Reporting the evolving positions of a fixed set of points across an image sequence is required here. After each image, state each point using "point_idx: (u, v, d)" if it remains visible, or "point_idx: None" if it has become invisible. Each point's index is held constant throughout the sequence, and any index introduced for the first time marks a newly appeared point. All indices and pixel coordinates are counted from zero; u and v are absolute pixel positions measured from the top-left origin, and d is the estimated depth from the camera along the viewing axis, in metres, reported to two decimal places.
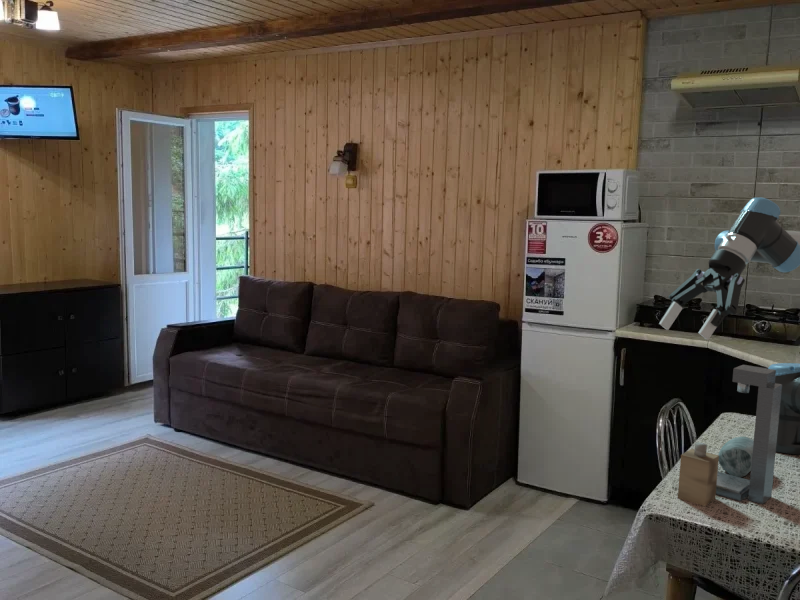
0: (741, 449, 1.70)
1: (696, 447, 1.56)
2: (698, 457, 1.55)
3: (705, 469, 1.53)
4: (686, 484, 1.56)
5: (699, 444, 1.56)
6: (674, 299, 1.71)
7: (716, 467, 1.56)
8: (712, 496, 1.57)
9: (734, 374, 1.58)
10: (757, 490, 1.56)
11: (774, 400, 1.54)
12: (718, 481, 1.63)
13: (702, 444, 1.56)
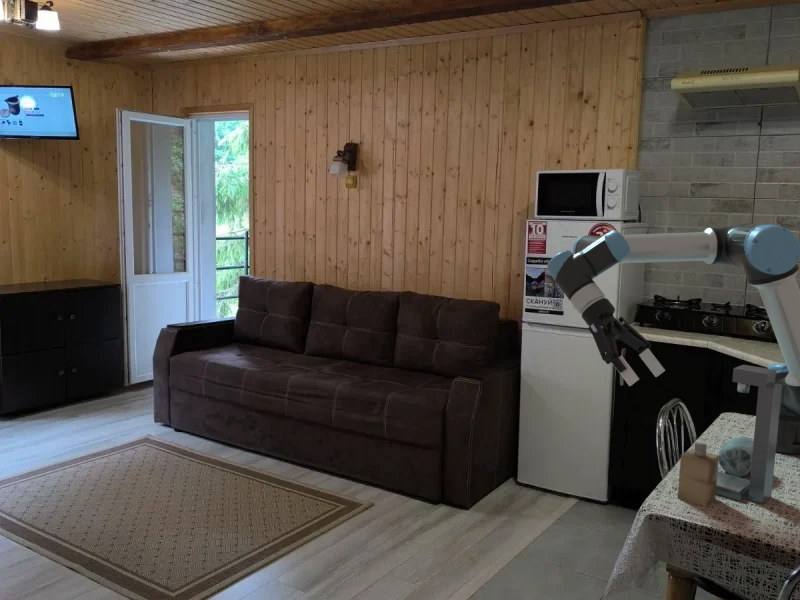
0: (741, 449, 1.70)
1: (696, 447, 1.56)
2: (698, 457, 1.55)
3: (705, 469, 1.53)
4: (686, 484, 1.56)
5: (699, 444, 1.56)
6: (639, 352, 1.73)
7: (716, 467, 1.56)
8: (712, 496, 1.57)
9: (734, 374, 1.58)
10: (757, 490, 1.56)
11: (774, 400, 1.54)
12: (718, 481, 1.63)
13: (702, 444, 1.56)
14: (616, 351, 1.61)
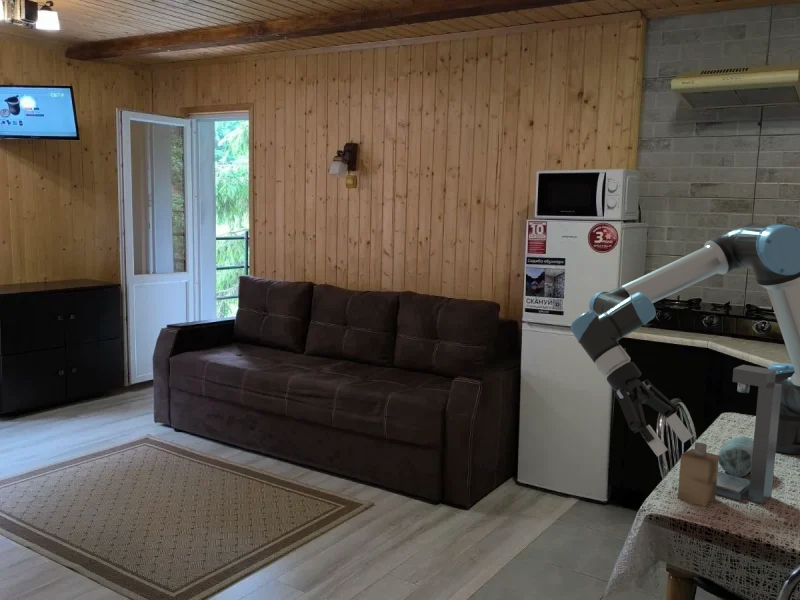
0: (741, 449, 1.70)
1: (696, 447, 1.56)
2: (698, 457, 1.55)
3: (705, 469, 1.53)
4: (686, 484, 1.56)
5: (699, 444, 1.56)
6: None
7: (716, 467, 1.56)
8: (712, 496, 1.57)
9: (734, 374, 1.58)
10: (757, 490, 1.56)
11: (774, 400, 1.54)
12: (718, 481, 1.63)
13: (702, 444, 1.56)
14: (643, 420, 1.57)
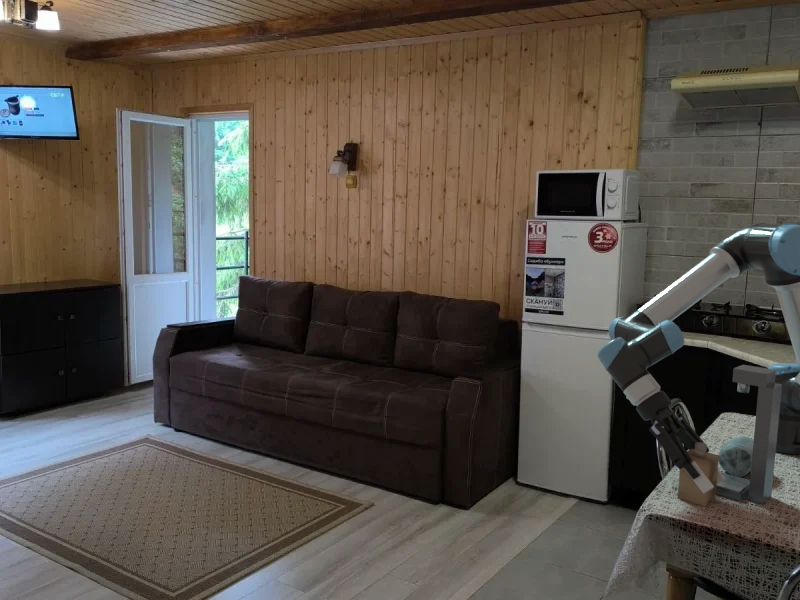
0: (741, 449, 1.70)
1: (696, 447, 1.56)
2: (698, 457, 1.55)
3: (705, 469, 1.53)
4: (686, 484, 1.56)
5: (699, 444, 1.56)
6: None
7: (716, 467, 1.56)
8: (712, 496, 1.57)
9: (734, 374, 1.58)
10: (757, 490, 1.56)
11: (774, 400, 1.54)
12: None
13: (702, 444, 1.56)
14: (687, 455, 1.55)
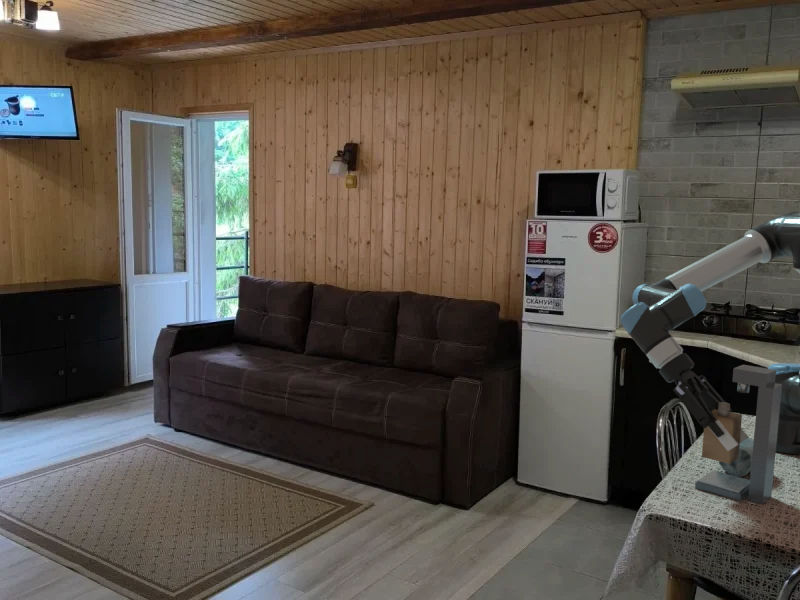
0: (741, 449, 1.70)
1: (720, 406, 1.59)
2: (721, 416, 1.58)
3: (729, 427, 1.56)
4: (710, 443, 1.60)
5: (722, 403, 1.59)
6: None
7: (739, 425, 1.60)
8: (735, 454, 1.60)
9: (734, 374, 1.58)
10: (757, 490, 1.56)
11: (774, 400, 1.54)
12: (718, 481, 1.63)
13: (725, 403, 1.60)
14: (711, 414, 1.58)
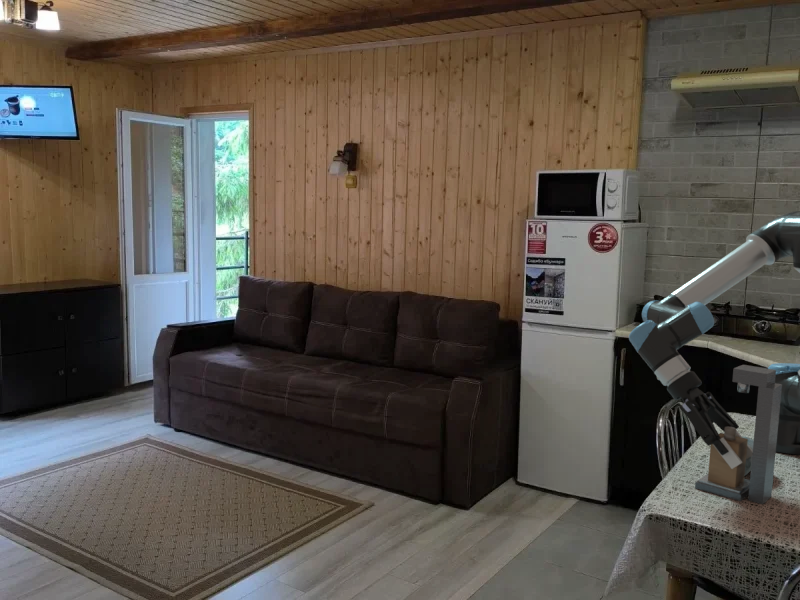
0: None
1: (726, 431, 1.62)
2: (728, 440, 1.61)
3: (735, 451, 1.59)
4: (716, 467, 1.62)
5: (729, 428, 1.62)
6: None
7: (745, 450, 1.62)
8: (741, 478, 1.62)
9: (734, 374, 1.58)
10: (757, 490, 1.56)
11: (774, 400, 1.54)
12: None
13: (731, 428, 1.62)
14: (716, 432, 1.60)
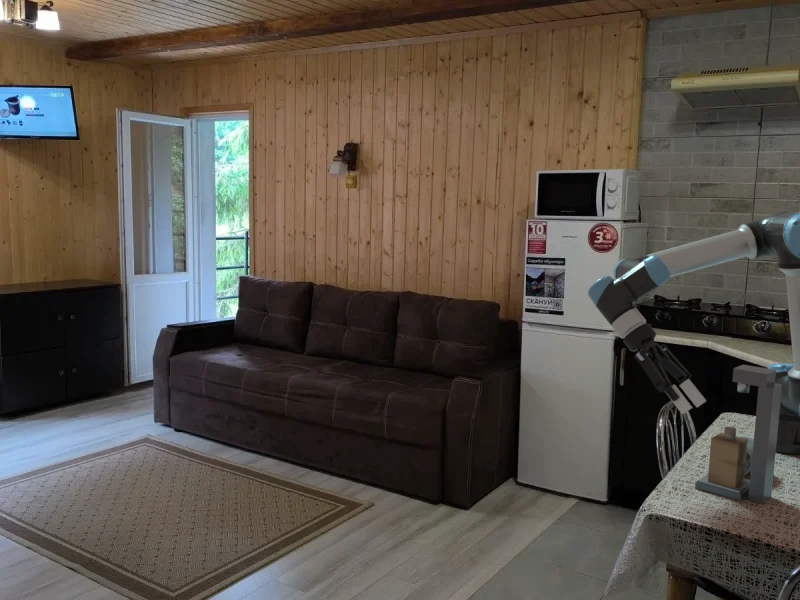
0: None
1: (726, 431, 1.62)
2: (728, 440, 1.61)
3: (735, 451, 1.59)
4: (716, 467, 1.62)
5: (729, 428, 1.62)
6: (679, 382, 1.75)
7: (745, 450, 1.62)
8: (741, 478, 1.62)
9: (734, 374, 1.58)
10: (757, 490, 1.56)
11: (774, 400, 1.54)
12: None
13: (731, 428, 1.62)
14: (668, 380, 1.67)
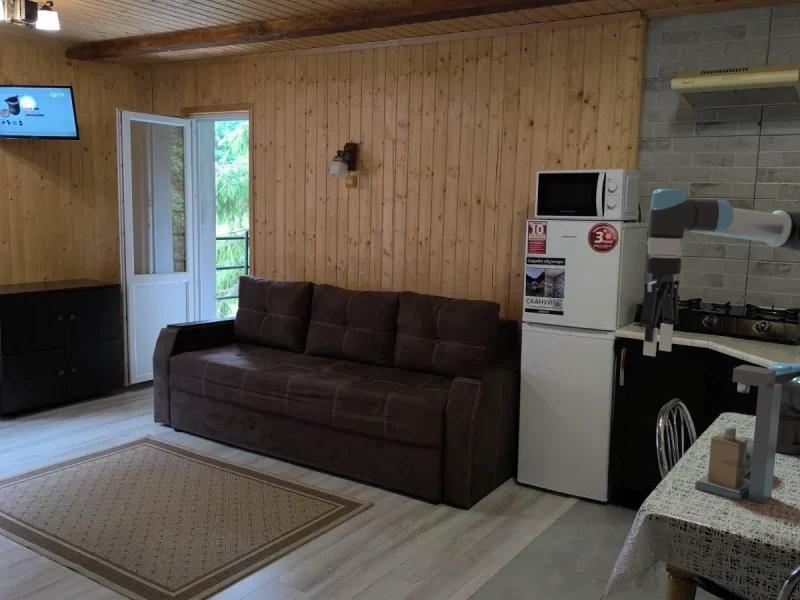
0: None
1: (726, 431, 1.62)
2: (728, 440, 1.61)
3: (735, 451, 1.59)
4: (716, 467, 1.62)
5: (729, 428, 1.62)
6: (663, 320, 1.71)
7: (745, 450, 1.62)
8: (741, 478, 1.62)
9: (734, 374, 1.58)
10: (757, 490, 1.56)
11: (774, 400, 1.54)
12: None
13: (731, 428, 1.62)
14: (655, 322, 1.62)
